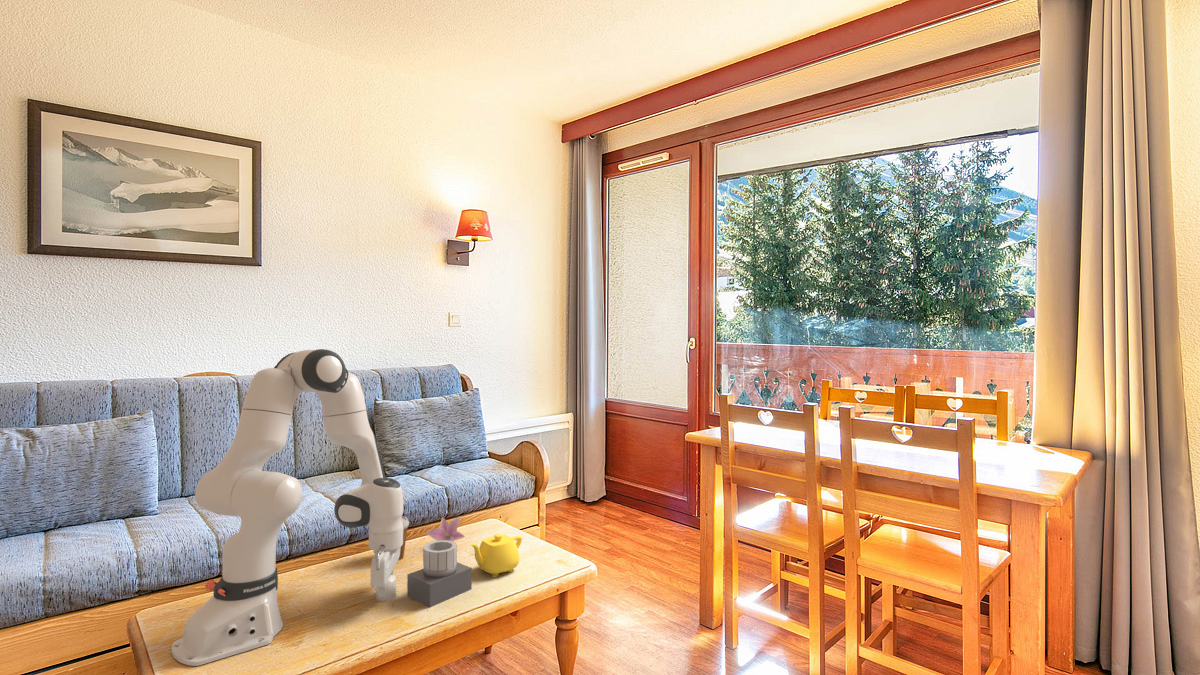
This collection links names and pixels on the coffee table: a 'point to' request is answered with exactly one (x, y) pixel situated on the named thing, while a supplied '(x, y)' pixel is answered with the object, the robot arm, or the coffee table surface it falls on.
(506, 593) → the coffee table surface
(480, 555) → the teapot
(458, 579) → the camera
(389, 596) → the white egg
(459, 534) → the lily
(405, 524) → the disposable coffee cup
